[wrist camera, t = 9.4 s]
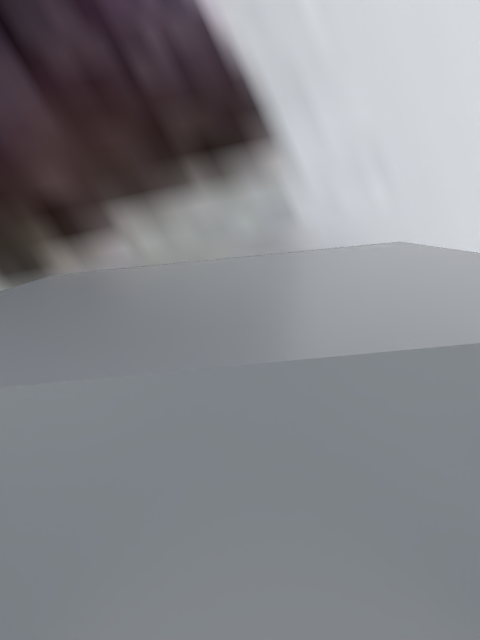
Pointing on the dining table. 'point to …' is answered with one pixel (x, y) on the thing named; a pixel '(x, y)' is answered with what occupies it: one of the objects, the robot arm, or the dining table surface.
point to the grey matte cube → (244, 449)
